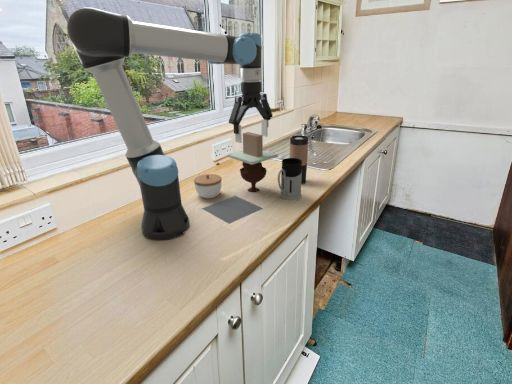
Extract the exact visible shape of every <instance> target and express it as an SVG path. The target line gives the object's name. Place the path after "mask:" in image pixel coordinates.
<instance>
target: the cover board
mask: <svg viewBox="0 0 512 384" xmlns="http://www.w3.org/2000/svg"><path fill="white" fill-rule="evenodd" d="M263 137H264V136H263V135H261V134H258V133H253V132H249V131H246V132H242V148H243V149H242V150H239V151H236V152H235V151H234V152H232V153H228V154H227V157H228V158H230V159H233V160H235V161H239V162H242V163H243V162H245V163H248V164H251V165H253V164H256V163H259V162H261V163H262V162H265V161H266V162H267V161H269V160H271V159H276V158H278V157H279V154H278V153H274V152H271V151H267V150H264V149H263Z"/></svg>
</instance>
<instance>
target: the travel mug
mask: <svg viewBox="0 0 512 384" xmlns="http://www.w3.org/2000/svg"><path fill="white" fill-rule="evenodd" d="M308 151H309V137H308V136H306V135H300V134H299V135H292V136H291V137H289V158H297V159H300V160H302V180H301V185H304V184H306V182H307V170H308V168H307V167H308V155H309V154H308Z"/></svg>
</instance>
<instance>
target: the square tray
mask: <svg viewBox="0 0 512 384" xmlns="http://www.w3.org/2000/svg"><path fill="white" fill-rule="evenodd" d="M201 209H202V210H204V211H205V212H207V213H209V214H211V215H213V216H214V217H216V218H218V219H220V220H221V221H223V222H225V223H228V224H232V223H234V222H236V221H238V220H240V219H243V218H245V217H248V216H249V215H251V214H254V213H256V212H260V211H261V210H263V209H264V207H261V206H260V205H256V204H255V203H252V202H250V201H249V200H246V199H243V198H241V197H240V196H237V195H233V196H231V197H228V198H225V199H222V200H221V201H218V202H215V203H212V204H209V205H207V206H204V207H202V208H201Z"/></svg>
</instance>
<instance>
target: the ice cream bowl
mask: <svg viewBox="0 0 512 384" xmlns="http://www.w3.org/2000/svg"><path fill="white" fill-rule="evenodd" d="M241 165H242V167H241V168H240V169H239V173H240V176H241V178H242V179H243V180H244V181H245V182H247V183H250V184H251V185H250V186H251V187H250V188H248V189H247V192H249V193H252V194H253V193H258V192H260V188H258V187H256V184H257V183H259V182H260V181H262V180H263V179H264V178H265V177H266V175H267V168H266V167H264V166H263V163H262V162H259V163H256V164H253V165H251V164H248V163H245V162H242V163H241Z"/></svg>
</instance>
